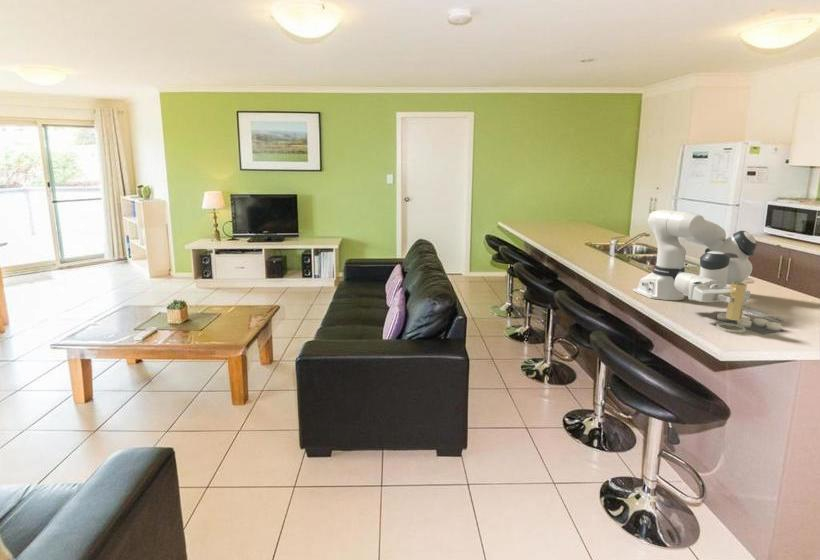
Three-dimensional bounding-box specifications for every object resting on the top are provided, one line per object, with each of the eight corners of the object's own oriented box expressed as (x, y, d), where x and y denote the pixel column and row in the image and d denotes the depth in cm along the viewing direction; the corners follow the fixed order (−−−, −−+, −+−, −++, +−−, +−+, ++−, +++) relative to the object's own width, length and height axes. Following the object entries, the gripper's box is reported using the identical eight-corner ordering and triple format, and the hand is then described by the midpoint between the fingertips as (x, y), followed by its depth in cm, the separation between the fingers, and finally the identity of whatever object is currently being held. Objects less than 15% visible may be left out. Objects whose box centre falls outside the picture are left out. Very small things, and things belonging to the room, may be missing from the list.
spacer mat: (711, 320, 192) (712, 313, 192) (734, 316, 196) (735, 310, 196) (762, 336, 174) (763, 329, 173) (786, 332, 178) (787, 325, 177)
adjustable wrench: (732, 307, 212) (733, 303, 211) (748, 307, 211) (748, 303, 211) (771, 325, 187) (771, 320, 187) (788, 325, 187) (789, 321, 187)
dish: (710, 328, 183) (711, 324, 183) (728, 325, 186) (728, 321, 185) (732, 335, 175) (733, 331, 175) (750, 333, 178) (751, 329, 177)
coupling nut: (724, 318, 179) (730, 283, 176) (729, 315, 182) (734, 281, 179) (737, 321, 176) (743, 285, 173) (742, 318, 179) (748, 283, 176)
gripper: (730, 297, 192) (761, 307, 179) (684, 299, 189) (712, 309, 175) (733, 281, 191) (764, 290, 178) (686, 283, 187) (715, 292, 174)
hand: (738, 300), depth 177 cm, fingers closed on coupling nut, 4 cm apart
